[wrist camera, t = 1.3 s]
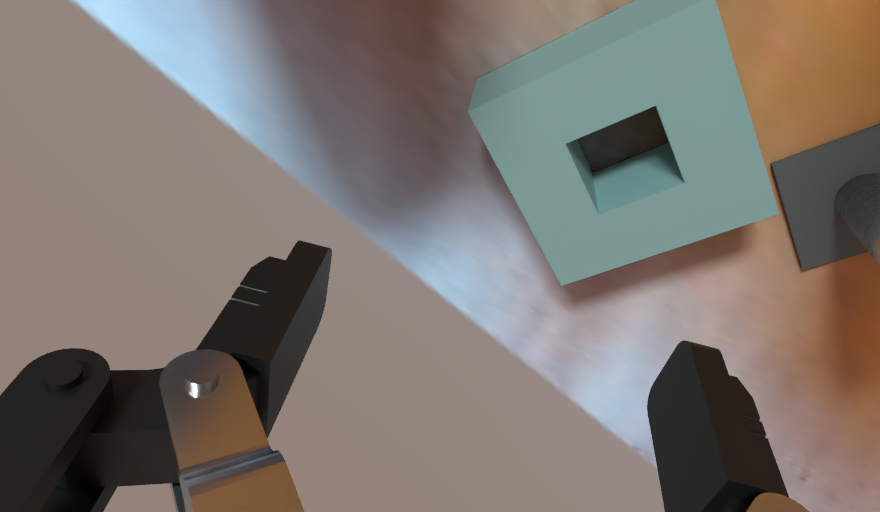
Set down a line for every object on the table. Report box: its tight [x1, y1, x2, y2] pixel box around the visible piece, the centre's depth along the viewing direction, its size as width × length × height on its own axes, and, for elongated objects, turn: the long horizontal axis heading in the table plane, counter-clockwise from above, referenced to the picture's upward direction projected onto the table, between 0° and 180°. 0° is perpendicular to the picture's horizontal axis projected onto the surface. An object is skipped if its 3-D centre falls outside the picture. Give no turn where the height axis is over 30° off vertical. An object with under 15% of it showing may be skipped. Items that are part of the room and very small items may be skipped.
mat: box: [771, 124, 880, 270], centre depth 35 cm, size 9×8×1 cm
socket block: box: [468, 0, 779, 286], centre depth 33 cm, size 12×12×5 cm
